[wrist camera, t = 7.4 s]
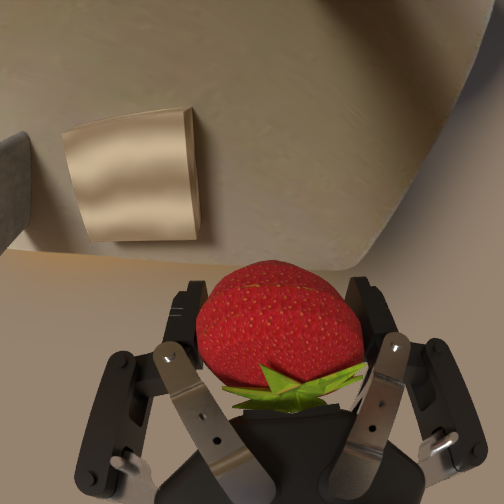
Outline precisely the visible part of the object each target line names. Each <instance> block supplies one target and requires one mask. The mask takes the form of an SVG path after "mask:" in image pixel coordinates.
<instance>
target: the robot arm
mask: <svg viewBox="0 0 504 504" xmlns="http://www.w3.org/2000/svg"><path fill="white" fill-rule="evenodd" d="M207 299H208V294H207V288H206V283H205V281H189V284H188V288H187V291H179V292H178V294H177V295H176V296H175V297H174V299H173V302H172V306H171V310H170V313H169V317H168V321H167V325H166V330H165V333H164V337H163V341H162V343H161V344H160V345H158V346H157V347H156V348H155V350H154V351H153V352H151V353H148V354H144V355H139V356H135V357H134V356H133V354H131V353H130V352H128V351H119V352H116V353H114V354H113V355H112V356H111V357H110V358H109V360H108V362H107V365H106V368H105V371H104V374H103V376H102V379H101V382H100V385H99V388H98V391H97V394H96V397H95V400H94V403H93V407H92V410H91V413H90V417H89V420H88V423H87V427H86V430H85V434H84V437H83V441H82V445H81V449H80V453H79V457H78V461H77V465H76V470H75V475H74V479H75V483H76V485H77V487H78V488H79V490H80V491H81V492H83V493H84V494H86V495H90V496H93V497H96V498H98V499H102V500H106V501H111V502H120V503H123V504H420V502H421V499H422V496H423V493H424V490H425V488H428V487H430V486H432V485H434V484H436V483H438V482H440V481H443V480H446V479H449V478H451V477H453V476H456V475H459V474H461V473H463V472H466V471H468V470H470V469H472V468H474V467H477V466H479V465H480V464H482V463H483V461H484V460H485V459H486V457H487V453H488V446H487V442H486V439H485V436H484V433H483V430H482V427H481V424H480V421H479V418H478V415H477V412H476V410H475V407H474V404H473V402H472V400H471V396H470V394H469V392H468V389H467V387H466V384H465V382H464V380H463V377H462V375H461V373H460V370H459V368H458V366H457V364H456V362H455V359H454V357H453V355H452V353H451V351H450V349H449V347H448V345H447V344H446V343H445V342H444V341H443V340H441V339H438V338H432V339H430V340H429V341H428V342H427V343H426V345H425V344H419V343H413V342H410V341H409V339H408V338H407V337H406V336H405V335H403V334H402V333H399V331H398V329H397V327H396V324H395V322H394V319H393V317H392V315H391V312H390V310H389V309H388V305H387V303H386V301H385V299H384V296H383V294H382V292H381V291H380V290H379V289H378V288H377V287H376V286H370V284H369V282H368V279H367V278H366V277H351V279H350V281H349V285H348V289H347V293H346V297H345V302H346V303H347V304H348V306H349V307H350V308H351V310H352V311H353V312H354V313H355V315H356V316H357V318H358V320H359V321H360V324H361V327H362V332H363V341H364V359H363V361H362V363H363V362H367V363H368V366H369V367H368V369H367V371H366V373H365V376H364V379H363V381H362V383H361V386H360V388H359V391H358V394H357V396H356V398H355V401H354V402H353V404H352V406H351V408H350V410H349V411H348V410H343V409H340V406H339V403H338V404H331V405H322V406H315V407H312V408H309V409H306V410H303V411H300V412H297V413H293V414H291V413H285V412H279V411H274V410H268V409H262V410H243V415H242V416H238V417H235V418H233V419H231V420H229V421H228V420H227V418H226V417H225V415H224V414H223V412H222V411H221V409H220V407H219V406H218V404H217V403H216V401H215V400H214V398H213V396H212V395H211V393H210V391H209V390H208V388H207V387H206V385H205V384H204V383H203V382H202V381H201V379H200V377H199V376H198V374H197V372H196V369H203V360H202V359H201V357H200V354H199V350H198V343H197V334H196V318H197V316H198V314H199V312H200V310H201V308H202V306H203V305H204V303H205V302H206V300H207ZM405 385H406V388H407V391H408V394H409V397H410V400H411V403H412V406H413V409H414V413H415V416H416V419H417V422H418V426H419V429H420V433H421V436H422V440H423V442H422V443H421V445H420V447H419V453H418V458H419V461H418V464H417V463H416V462H414V461H413V460H412V459H411V458H409V457H408V456H407V455H406V454H404V453H403V452H402V451H401V450H400V449H398V448H397V447H396V446H395V445H394V444H392V443H391V442H390V441H389V440H388V437H389V434H390V432H391V429H392V426H393V423H394V420H395V417H396V414H397V411H398V408H399V405H400V401H401V398H402V394H403V391H404V386H405ZM164 394H170V398H171V400H172V402H173V404H174V406H175V408H176V410H177V412H178V414H179V416H180V418H181V420H182V422H183V423H184V425H185V427H186V429H187V431H188V433H189V434H190V436H191V438H192V440H193V441H194V443H195V445H196V447H197V448H198V450H197V451H196V452H195V453H194V454H193V455H192V456H191V457H190V458H189V459H188V460H187V461H186V462H185V463H184V464H183V465H182V466H181V467H180V468H179V469H178V470H176V471H175V472H174V473H173V474H172V475H171V476H170V477H169V478H168V479H167V480H166V481H165V482H164V483H163V484H162V485H161V486H160V487H159V488H157V487H156V486H155V484H154V483H153V481H152V478H151V469H150V466H149V465H148V464H147V462H146V461H145V460H143V459H142V458H141V454H142V449H143V444H144V439H145V434H146V429H147V424H148V420H149V415H150V411H151V406H152V402H153V397H154V396H159V395H164Z"/></svg>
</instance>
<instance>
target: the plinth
mask: <svg viewBox="0 0 504 504" xmlns="http://www.w3.org/2000/svg"><path fill="white" fill-rule="evenodd" d="M62 139H63V144H64V149H65V154H66V159H67V163H68V167H69V172H70V176H71V180H72V184H73V187H74V191H75V195H76V198H77V202H78V205H79V208H80V212H81V215H82V218H83V221H84V224H85V228H86V231H87V234H88V236H89V239H90V242H104V241H153V240H197V237H198V233H199V230H200V226H201V223H202V219H201V210H200V200H199V190H198V180H197V169H196V157H195V145H194V131H193V117H192V107H182V108H172V109H164V110H156V111H149V112H142V113H136V114H130V115H124V116H119V117H114V118H109V119H104V120H99V121H95V122H90V123H86V124H82V125H79V126H77V127H75V128H72V129H70V130H68V131H66V132H64V133H62Z"/></svg>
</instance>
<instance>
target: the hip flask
mask: <svg viewBox="0 0 504 504" xmlns="http://www.w3.org/2000/svg"><path fill="white" fill-rule="evenodd" d="M30 214H31V151H30V139H29V136H28V135H27V133H25V132H23V131H22V132H19V133H17V134H15V135H13V136H11V137H9V138H7V139H5V140H3V141H2V142H0V256H1V254H2V253H3V252H4V251H5V250H6V249H7V247H8V246H9V245H10V244H11V243H12V242H13V241H14V240H15V238H16V237H17V236H18V235H19V234H20V233H21V232H22V231H23V230H24V229H25V228H26V227H27V226H28V225H29V223H30Z"/></svg>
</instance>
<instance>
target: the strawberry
mask: <svg viewBox="0 0 504 504" xmlns="http://www.w3.org/2000/svg"><path fill="white" fill-rule="evenodd" d="M196 334H197V343H198V350H199V354H200V357H201V359H202V360H203V362H204V363H205V365H206V366H207V367H208V368H209V369H210V370H211V371H212V372H213V374H214V375H216V377H218V378H219V380H220V381H222V382H223V383H224V384H225V385H227V386H228V387H227V386H222V390H224V391H227V392H230V393H234V394H237V395H240V396H243V397H246V398H249V399H251V400H248V401H245V402H243V403H240V404H237V405H234V406H232V408H239V409H255V410H262V409H268V410H274V411H279V412H285V413H288V412H290V413H295V412H300V411H303V410H306V409H309V408H312V407H315V406H322V405H328V404H327V403H326V402H325V401H324V400H322V399H320V398H317V397H321V396H324V395H327V394H329V393H332V392H334V391H336V390H338V389H340V388H342V387H344V386H346V385H349V384H351V383H354V382H356V381H358V380H361V379H363V375H360V376H355V377H353V376H354V375H355V373H356V372H358V371H359V370H360V369H362V368H363V367H364V366H365V364H364V362H363V363H362V361H363V359H364V341H363V332H362V327H361V324H360V321H359V320H358V318H357V316H356V315H355V313H354V312H353V311H352V310H351V308H350V307H349V306H348V304H347V303H346V302H345V301H344V299H343V298H342V297H341V296H340V294H339V293H338V292H337V291H336V290H335V288H333V287H332V286H331V285H330V284H329V283H328V282H327V281H325V280H324V279H322V278H321V277H319V276H317V275H315V274H313V273H311V272H309V271H306V270H304V269H302V268H300V267H298V266H295V265H293V264H290V263H286V262H282V261H278V260H269V261H261V262H257V263H254V264H251V265H248V266H246V267H244V268H242V269H239V270H236V271H234V272H232V273H231V274H229V275H227V276H225V277H224V278H223V279H222V280H221V281H220V282H219V283H218V284H217V285H216V287H215V288H214V290H213V291H212V293H211V294H210V296H209V297H208V299H207V300H206V302H205V303H204V305H203V306H202V308H201V310H200V312H199V314H198V316H197V318H196Z"/></svg>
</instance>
